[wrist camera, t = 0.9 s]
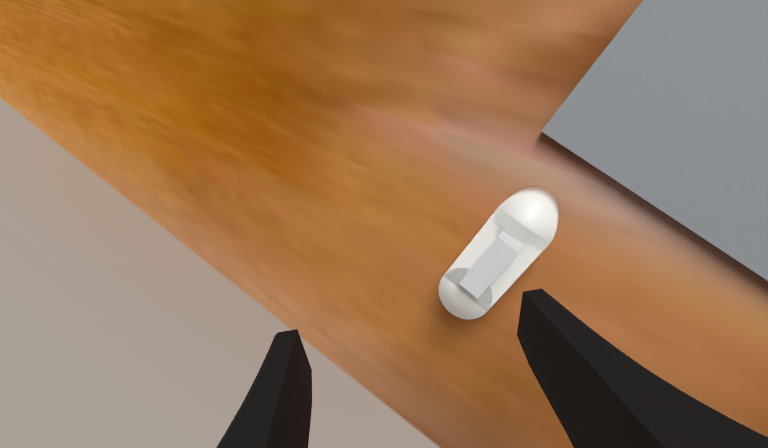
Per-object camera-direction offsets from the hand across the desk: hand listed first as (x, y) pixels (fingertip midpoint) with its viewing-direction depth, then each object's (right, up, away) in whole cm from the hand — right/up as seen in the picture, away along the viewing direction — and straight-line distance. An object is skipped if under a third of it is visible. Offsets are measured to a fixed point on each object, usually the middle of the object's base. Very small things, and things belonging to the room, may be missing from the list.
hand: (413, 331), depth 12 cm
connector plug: (+7, +2, +12) cm, 14 cm away
